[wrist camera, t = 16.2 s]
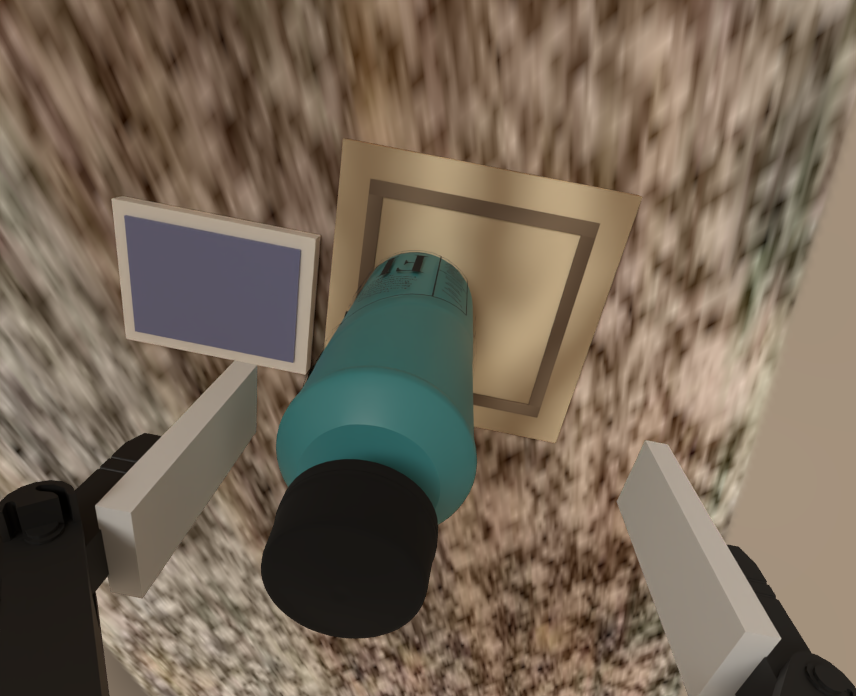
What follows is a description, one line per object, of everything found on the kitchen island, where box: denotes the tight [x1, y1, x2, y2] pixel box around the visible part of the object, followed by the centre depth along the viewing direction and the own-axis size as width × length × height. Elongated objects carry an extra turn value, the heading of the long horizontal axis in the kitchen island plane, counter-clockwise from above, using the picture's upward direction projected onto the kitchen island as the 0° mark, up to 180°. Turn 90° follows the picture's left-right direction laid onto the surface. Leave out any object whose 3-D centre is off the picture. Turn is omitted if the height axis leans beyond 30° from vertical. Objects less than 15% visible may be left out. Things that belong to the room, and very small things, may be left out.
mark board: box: [324, 139, 642, 443], centre depth 29 cm, size 16×16×1 cm
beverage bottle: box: [261, 250, 477, 639], centre depth 20 cm, size 6×7×20 cm
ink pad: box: [112, 196, 321, 375], centre depth 30 cm, size 12×9×1 cm
